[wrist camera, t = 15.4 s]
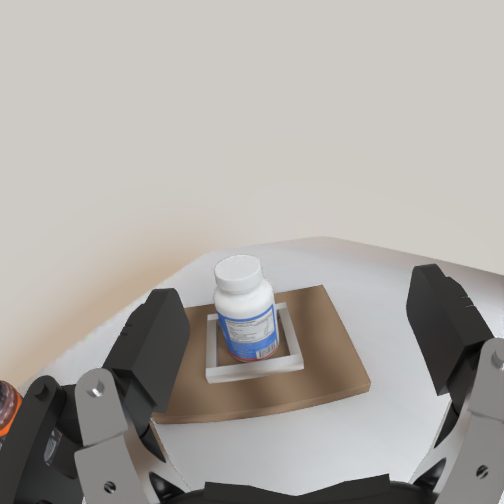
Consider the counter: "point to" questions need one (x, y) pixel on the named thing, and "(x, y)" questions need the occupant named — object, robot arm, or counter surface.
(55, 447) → the supplement bottle
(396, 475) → the counter surface
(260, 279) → the pill bottle
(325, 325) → the walnut board
